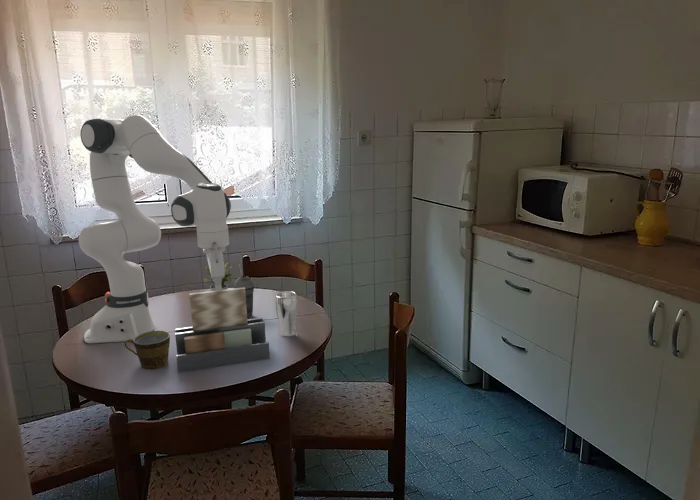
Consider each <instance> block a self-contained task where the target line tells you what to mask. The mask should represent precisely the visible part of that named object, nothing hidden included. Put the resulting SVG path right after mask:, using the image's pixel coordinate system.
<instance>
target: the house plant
mask: <svg viewBox="0 0 700 500" xmlns="http://www.w3.org/2000/svg"><path fill="white" fill-rule="evenodd" d="M227 265H229V262H227V263H224V272H227V271H228V269H227V267H228V266H227ZM230 268H233V266H230V267H229V269H230ZM201 269H203V270H205V271H207V273H206V274H208V275H209V276H210V277H211V273H210V269H209V264H207V265H205V266H204V268H202V267H201ZM230 276H234V274H232V273H231V272H230V273H225V276H224V278H222V283H221V285H222V290H225V289H229V285H228V284H227V283H225V282H229V283H231V281H234V279H233V277H230ZM203 281H206V282H211V283H212V284H211V285H210V286H209V289H210V291H215V283H214V281H213V280H212V279H210V278H208V277H205V278H203Z"/></svg>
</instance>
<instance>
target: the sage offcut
mask: <svg viewBox="0 0 700 500" xmlns="http://www.w3.org/2000/svg"><path fill="white" fill-rule="evenodd" d="M224 339H225V348H229V347H236V346H243V345H250V344H252V337H251V329H250V328H248V329H241V330H233V331H226V332H224Z"/></svg>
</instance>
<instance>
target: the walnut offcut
mask: <svg viewBox="0 0 700 500" xmlns="http://www.w3.org/2000/svg"><path fill="white" fill-rule="evenodd" d="M184 341H185V351H186V354H187V353H194V352H201V351H208V350H215V349H222V348H225V339H224V332H219V333H212V334H204V335H197V336H189V337H184Z"/></svg>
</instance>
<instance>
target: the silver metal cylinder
mask: <svg viewBox="0 0 700 500" xmlns="http://www.w3.org/2000/svg"><path fill="white" fill-rule="evenodd" d="M297 298H298V297H297V293H296V292H295V291H292V290H291V291H290V290H289V291H288V290H286V291H281V292H277V293H276V295H275V309H276V316H277V319H278V323H279V336H281V337H291V336H293V337H294V336H295V337H297V338H298V332H297V316H298V300H297Z"/></svg>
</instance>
